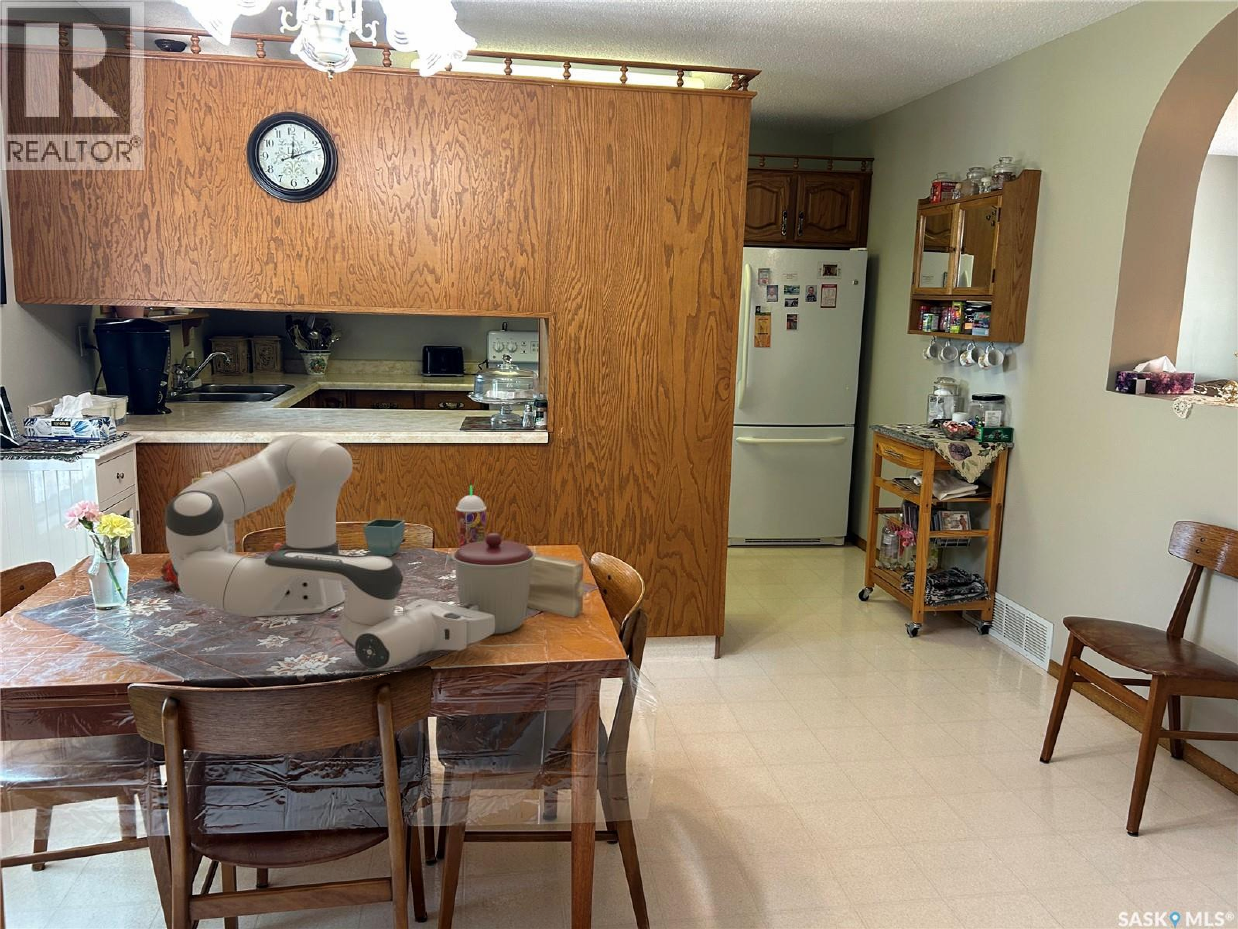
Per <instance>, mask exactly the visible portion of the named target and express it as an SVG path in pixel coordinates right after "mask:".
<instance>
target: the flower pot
mask: <svg viewBox="0 0 1238 929" xmlns="http://www.w3.org/2000/svg"><path fill="white" fill-rule="evenodd" d="M405 523H406V520H404V519H389V518H388V519H385V518H384V519H383V518H376V519H375V518H374V519H373V520H371V521H370V522H368V523H366V524H364V525H363V533H364V539H365V543H366V545H367V549H368V550H369V552H370V553H371V555H374V556H383V557H392V556H393V555H394V554H396V553H397V552H398V551H399V550H400V548H401V546H402V543H403V540H404V534H405V525H406V524H405Z"/></svg>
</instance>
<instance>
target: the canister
mask: <svg viewBox="0 0 1238 929" xmlns="http://www.w3.org/2000/svg"><path fill="white" fill-rule="evenodd" d="M536 554H537V553H536V551H535V550H534V549H532V548H530V547H529V546H527V545H526V544H523V543H519V542H516V541H510V540H503V538H502V536H501V534H500V533H497V532H491V533H488V534H487V535H485V540H484V541H479V542H473V543H469V544H466V545H464V546H462V547H460V548H459V547H458V548H457V549H456V550H454V551H453V552H452V553H451V555H450V557H451V560H452V561H454V567H455V569H454V570H455V577H456V586H457V593H458V600H459V605H463V604H466V603H468V604H472V605H477V606H478V607H479V612H484V613H488V614H492V615H494V617H495V630H494V633H493V634H492V635H500V634H505V633H507V634H508V633H510V632H514V631H515V630H517V629H519V628H520V627H521V626H522V625H523V623H524V621H525V619H526V615H527V610H528V608H527V603H528V596H529V588H530V579H531V571H532V560H533V559H534V558H535V556H536Z"/></svg>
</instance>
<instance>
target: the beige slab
mask: <svg viewBox="0 0 1238 929" xmlns="http://www.w3.org/2000/svg"><path fill="white" fill-rule="evenodd" d="M583 596H584V562H582V561H576V560H573V559H566V558H561V557H555V556H552V555H551V556H550V555H545V554H539V553H536V556H535V558H534V559H533V560H532V571H531V579H530V588H529V596H528V603H527V607H529V608H528V609H531V610H532V609H533V610H536V609H539V610H538V611H541V610H542V611H541V612H546V613H551V614H554V613H555V615H559V616H563V617H568V618H572V619H574V618H576V617H577V616H579V615H581V614H583V611H584V608H583V605H584V604H583V603H584V601H583V599H584V597H583Z"/></svg>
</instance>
